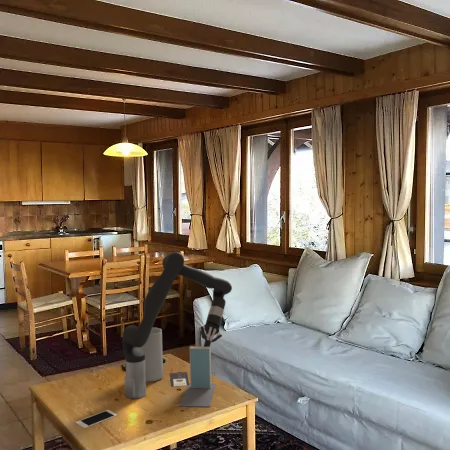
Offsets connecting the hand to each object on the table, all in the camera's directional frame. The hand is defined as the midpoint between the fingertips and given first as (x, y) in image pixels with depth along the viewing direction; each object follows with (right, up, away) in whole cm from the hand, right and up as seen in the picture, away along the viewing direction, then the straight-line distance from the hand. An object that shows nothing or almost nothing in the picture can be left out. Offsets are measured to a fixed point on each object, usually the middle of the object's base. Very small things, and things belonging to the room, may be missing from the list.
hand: (206, 348), depth 249 cm
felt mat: (-3, -19, -12) cm, 23 cm away
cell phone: (-46, -22, -35) cm, 62 cm away
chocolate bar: (-14, -19, +8) cm, 25 cm away
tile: (-2, -18, -4) cm, 19 cm away
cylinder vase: (-29, -18, +11) cm, 36 cm away
